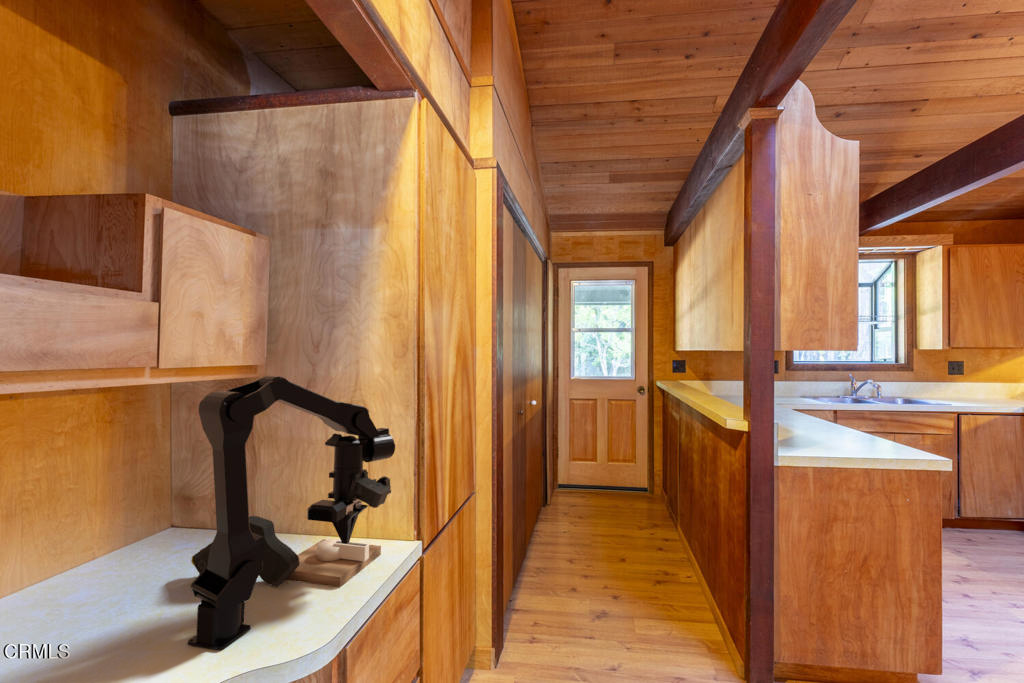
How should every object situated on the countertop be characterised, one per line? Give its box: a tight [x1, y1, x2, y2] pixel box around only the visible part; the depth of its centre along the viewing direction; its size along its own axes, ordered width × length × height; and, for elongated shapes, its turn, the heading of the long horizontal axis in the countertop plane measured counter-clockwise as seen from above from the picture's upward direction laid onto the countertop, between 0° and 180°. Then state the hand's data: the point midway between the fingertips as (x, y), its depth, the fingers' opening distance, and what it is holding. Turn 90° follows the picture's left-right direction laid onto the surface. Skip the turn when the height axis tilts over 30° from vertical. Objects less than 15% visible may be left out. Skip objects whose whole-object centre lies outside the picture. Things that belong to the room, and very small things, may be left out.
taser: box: [190, 515, 300, 588], centre depth 100 cm, size 4×18×15 cm
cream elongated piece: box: [316, 538, 370, 561], centre depth 107 cm, size 12×6×3 cm, turn 78°
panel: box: [286, 539, 382, 588], centre depth 108 cm, size 17×15×2 cm
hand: (345, 543), depth 101 cm, fingers closed
